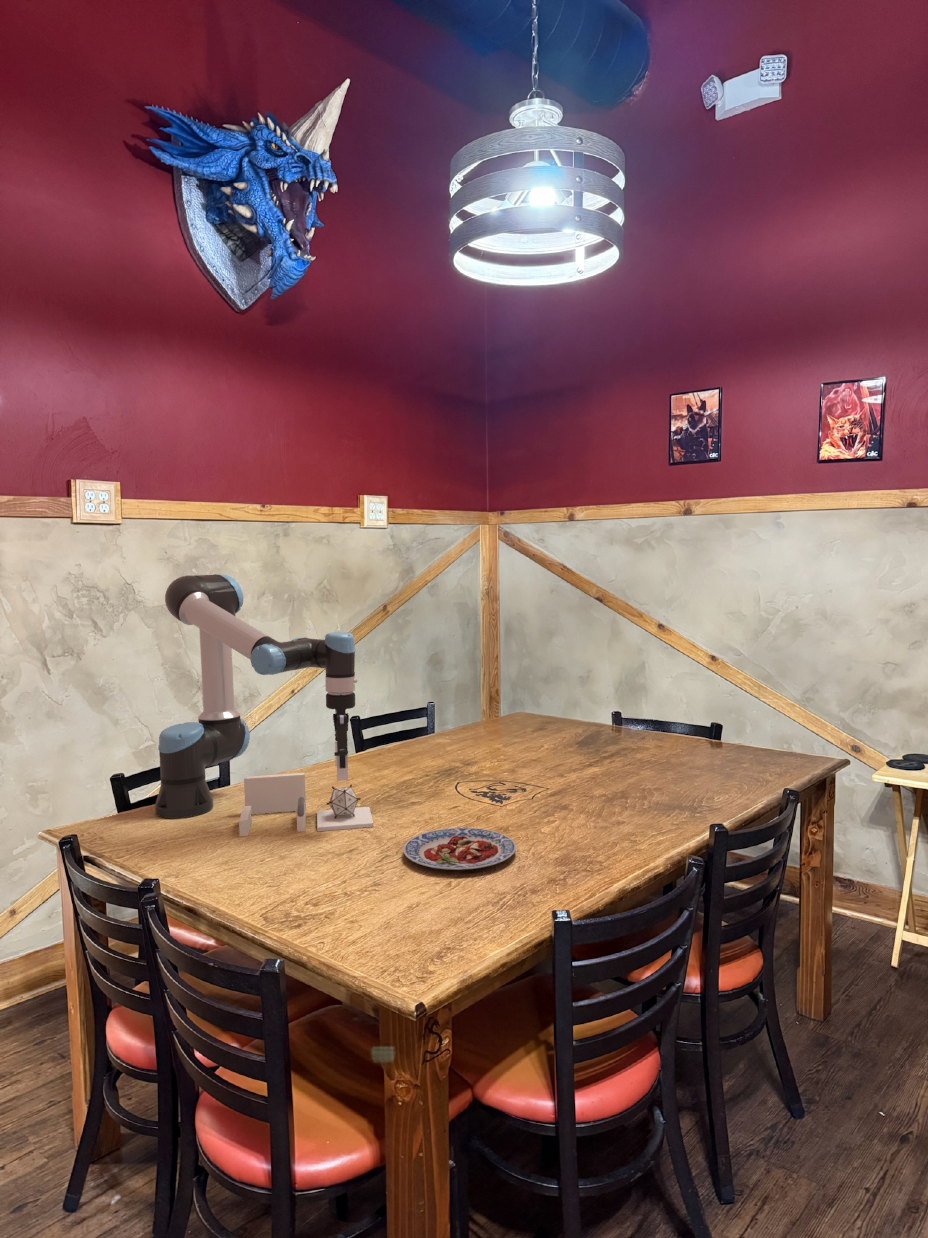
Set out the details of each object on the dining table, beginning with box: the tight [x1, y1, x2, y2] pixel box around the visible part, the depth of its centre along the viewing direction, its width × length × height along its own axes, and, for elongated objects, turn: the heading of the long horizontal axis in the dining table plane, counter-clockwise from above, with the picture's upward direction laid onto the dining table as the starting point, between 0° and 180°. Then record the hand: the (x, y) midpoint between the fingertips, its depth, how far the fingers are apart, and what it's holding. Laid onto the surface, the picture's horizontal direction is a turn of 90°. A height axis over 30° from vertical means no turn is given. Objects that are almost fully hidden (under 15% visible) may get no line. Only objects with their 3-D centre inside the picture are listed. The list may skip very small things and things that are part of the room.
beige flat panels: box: [238, 772, 307, 837], centre depth 206 cm, size 16×19×10 cm
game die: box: [326, 784, 361, 819], centre depth 207 cm, size 9×8×10 cm
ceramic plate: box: [402, 827, 517, 871], centre depth 181 cm, size 26×26×3 cm
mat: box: [316, 806, 374, 832], centre depth 206 cm, size 14×14×1 cm
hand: (341, 772), depth 206 cm, fingers open, 13 cm apart
